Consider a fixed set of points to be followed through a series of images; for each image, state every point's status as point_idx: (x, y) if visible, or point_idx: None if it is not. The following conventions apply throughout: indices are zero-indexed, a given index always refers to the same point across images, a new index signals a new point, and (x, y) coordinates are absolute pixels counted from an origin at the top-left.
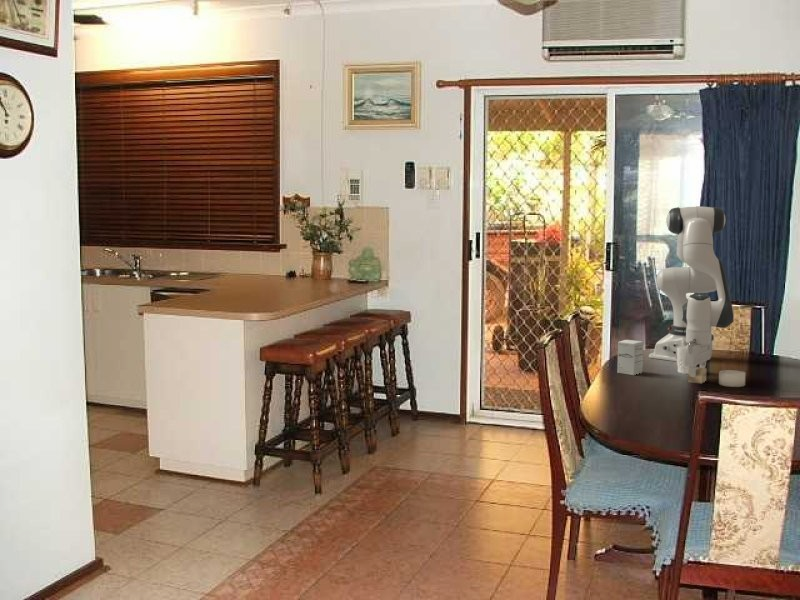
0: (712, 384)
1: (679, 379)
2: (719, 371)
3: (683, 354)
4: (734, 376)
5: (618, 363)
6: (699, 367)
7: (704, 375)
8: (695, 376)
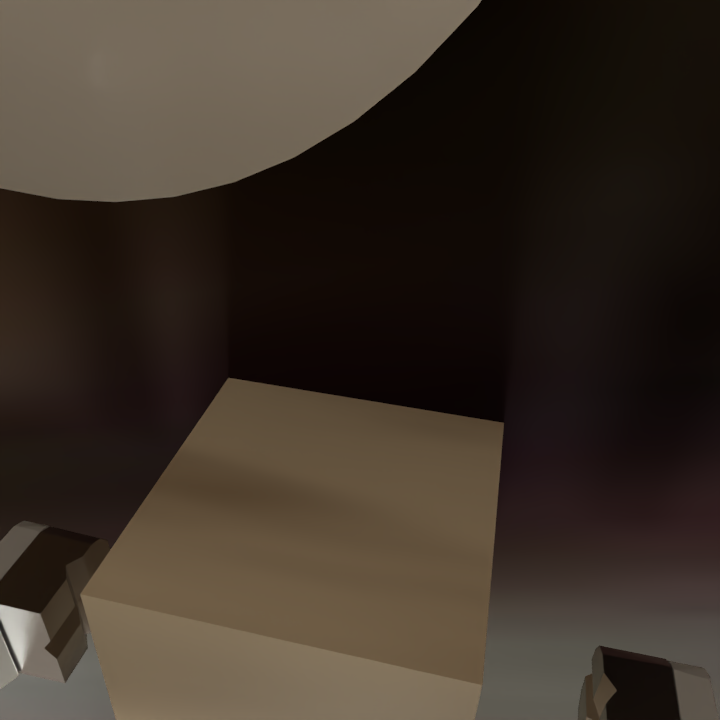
0: (516, 209)
1: None
2: (102, 197)
3: None
4: None
5: None
6: (116, 710)
7: (298, 493)
8: (653, 658)
